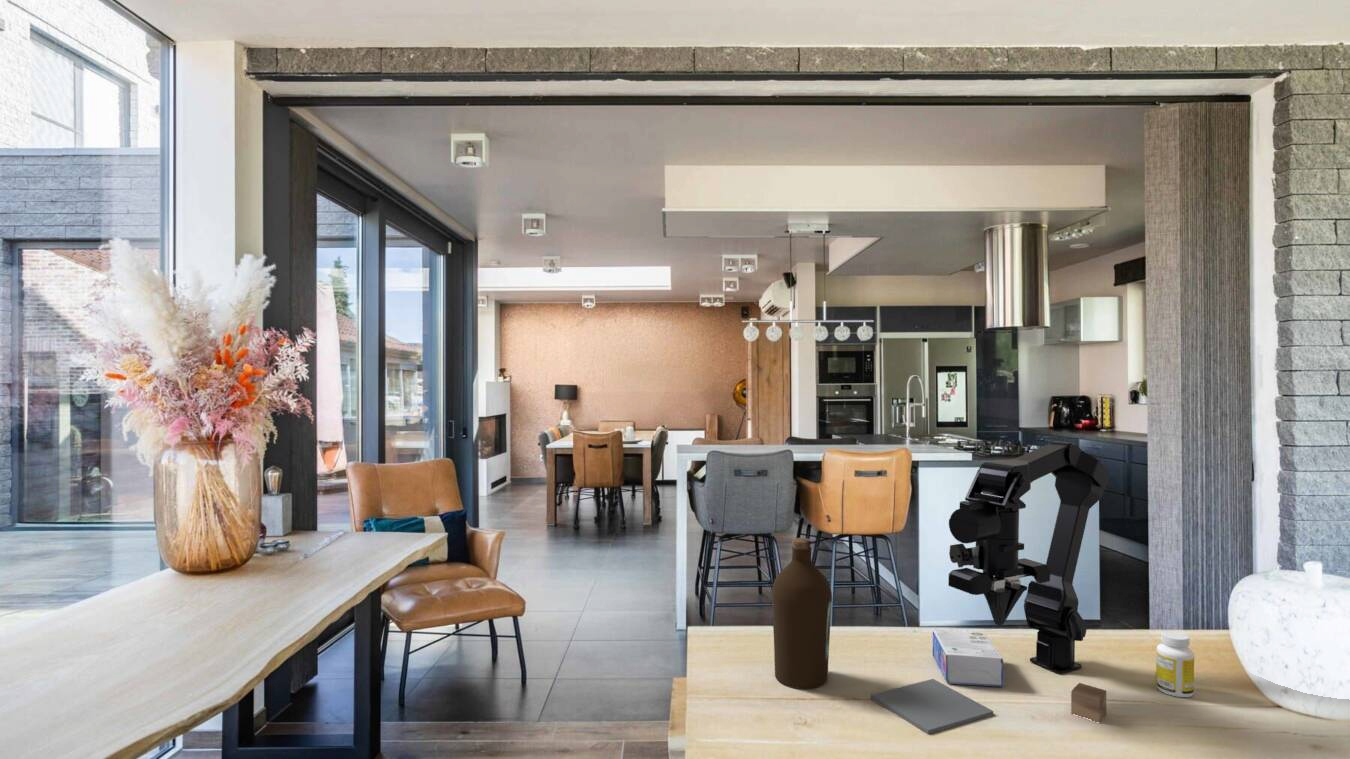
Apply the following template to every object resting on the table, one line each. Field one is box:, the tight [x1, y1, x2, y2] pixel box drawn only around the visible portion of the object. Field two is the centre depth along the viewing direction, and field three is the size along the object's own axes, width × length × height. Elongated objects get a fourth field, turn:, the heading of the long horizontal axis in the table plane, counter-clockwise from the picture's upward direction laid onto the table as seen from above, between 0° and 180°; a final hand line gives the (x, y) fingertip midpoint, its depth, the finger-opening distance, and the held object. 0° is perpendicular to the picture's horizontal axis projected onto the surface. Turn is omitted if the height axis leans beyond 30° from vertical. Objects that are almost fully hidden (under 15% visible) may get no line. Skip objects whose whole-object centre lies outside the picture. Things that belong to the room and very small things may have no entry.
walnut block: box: [1070, 682, 1107, 723], centre depth 118 cm, size 4×4×4 cm
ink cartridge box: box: [932, 629, 1004, 688], centre depth 135 cm, size 10×6×14 cm
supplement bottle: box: [1155, 630, 1195, 698], centre depth 126 cm, size 5×5×10 cm
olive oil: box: [771, 537, 833, 690], centre depth 131 cm, size 11×11×25 cm
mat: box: [870, 678, 994, 735], centre depth 120 cm, size 14×13×1 cm
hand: (998, 624), depth 127 cm, fingers closed
